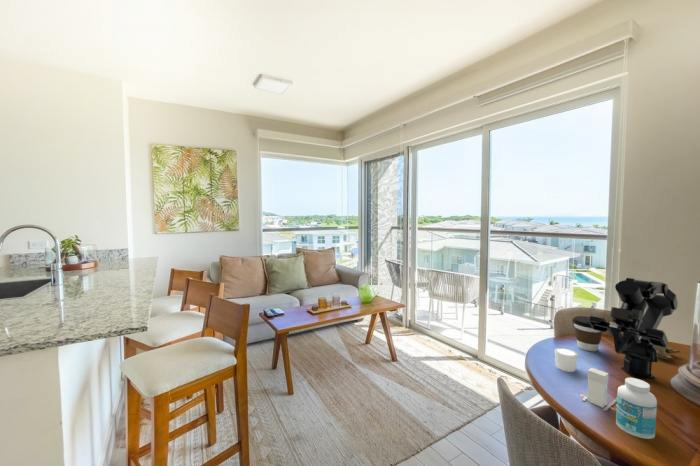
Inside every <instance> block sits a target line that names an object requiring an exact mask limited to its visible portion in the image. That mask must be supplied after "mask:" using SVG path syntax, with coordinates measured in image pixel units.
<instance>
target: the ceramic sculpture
mask: <svg viewBox="0 0 700 466" xmlns="http://www.w3.org/2000/svg"><path fill="white" fill-rule="evenodd" d="M654 346H655V348H656V351H657V353H658V359H659V358H660V359H664V360H665V359H666V360H675V357H672V355H670V354H680V353H681V351H680V350H674V349H672V348H670V347H669V346H667V347H665V348H664V347H660V346H656V345H654Z"/></svg>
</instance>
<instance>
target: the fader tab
mask: <svg viewBox="0 0 700 466" xmlns="http://www.w3.org/2000/svg"><path fill="white" fill-rule="evenodd" d="M586 378H587V394H586V396H587V400H586V401H587V402H588V403H590V404H593V405H595V406H598V407H600V408H602V409H604V408H605V407H606V406H607V405H608V404H607V402H608V400H607V399H608V382H609V372H605V371H604V370H600V369H597V368H594V367H591V368H589V369H588V370H587V377H586Z"/></svg>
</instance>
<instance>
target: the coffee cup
mask: <svg viewBox="0 0 700 466" xmlns="http://www.w3.org/2000/svg"><path fill="white" fill-rule="evenodd" d="M589 317H590V316H582V315H581V316H580V315H578V316H576V315H575V316H574V317H573V318H572V320H571V321H572V323H573V324H574V325H573V328H574V334H575V335H574V336H575V339H576V342H577V346H578V348H580V349H581V350H583V351H586V352H587V351H588V352H596V351H597V350H599V345H600V343H601V339H602V335H603V332H601V331H597V330H594V329H592V327H591V325H590V324H589V322H588V319H589Z"/></svg>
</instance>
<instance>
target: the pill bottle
mask: <svg viewBox="0 0 700 466" xmlns="http://www.w3.org/2000/svg"><path fill="white" fill-rule="evenodd" d="M650 391H651V385H650V384H649V383H648V382H646V381H644V380H642V379H640V378H636V377H626V378H625V379H624V384H622V385H620V386H618V388H617V395H616V398H617V402H616V404H617V405H616V409H617V410H616V412H615V413H616V414H615V424H616V426H617V427H618V428H619V429H621V430H622V431H623V432H625V433H627V434H628V435H631V436H633V437H636V438H641V439H647V440H650V439H654V438H655V437H656V429H657V428H656V426H657V424H656V423H657V412H658V411H657V410H658V408H657V407H658V400H657V398H656V396H655V394H653V393H652V392H650Z"/></svg>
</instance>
